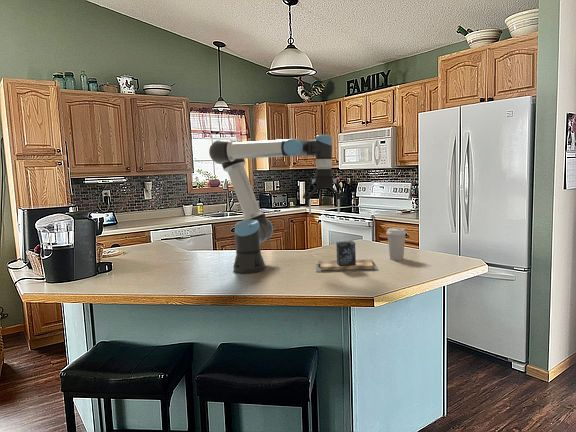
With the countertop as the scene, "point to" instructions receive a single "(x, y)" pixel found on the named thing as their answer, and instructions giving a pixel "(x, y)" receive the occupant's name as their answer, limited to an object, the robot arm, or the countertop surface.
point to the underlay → (318, 269)
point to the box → (346, 253)
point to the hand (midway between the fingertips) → (324, 213)
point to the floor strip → (336, 262)
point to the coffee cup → (396, 243)
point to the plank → (347, 266)
